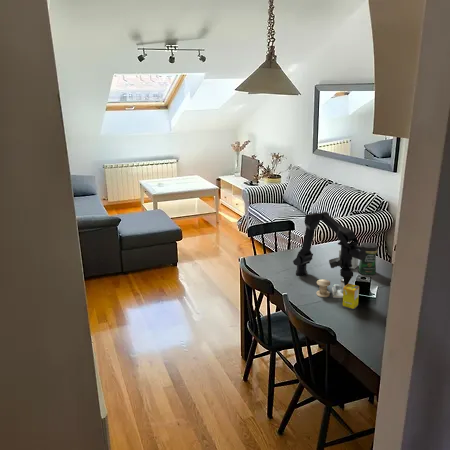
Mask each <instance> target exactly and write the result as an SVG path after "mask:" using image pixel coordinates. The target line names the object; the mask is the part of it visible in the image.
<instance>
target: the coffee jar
mask: <svg viewBox="0 0 450 450" xmlns="http://www.w3.org/2000/svg"><path fill="white" fill-rule="evenodd" d="M360 246H363V247H364V249H365V251H366V256H365V258H364V259H363V260H359V263H358V273H360V274H361V275H364V276H365V275H366V276H367V275H370V276H373V275H376V272H377V263H376V262H377V261H376V258H377V257H376V256H377V253H378V245H377V243H376V242H361V244H360Z"/></svg>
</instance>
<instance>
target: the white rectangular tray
mask: <svg viewBox="0 0 450 450" xmlns="http://www.w3.org/2000/svg"><path fill="white" fill-rule="evenodd" d="M340 286H341V284H336V283H335V284H333V286H332V287H331V290H332V298H336V299H337V298H338V299H341V298H342V299H343V293H341V292H340Z"/></svg>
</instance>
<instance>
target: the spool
mask: <svg viewBox="0 0 450 450" xmlns="http://www.w3.org/2000/svg"><path fill="white" fill-rule="evenodd" d="M316 285H318V286H319V290H317V291H316V295H317V296H318V297H319V298H328V297H330V296H331V292H330V291H328V287H329V286H331V281H330V280H328V279H324V278H321V279H318V280H317V281H316Z"/></svg>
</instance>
